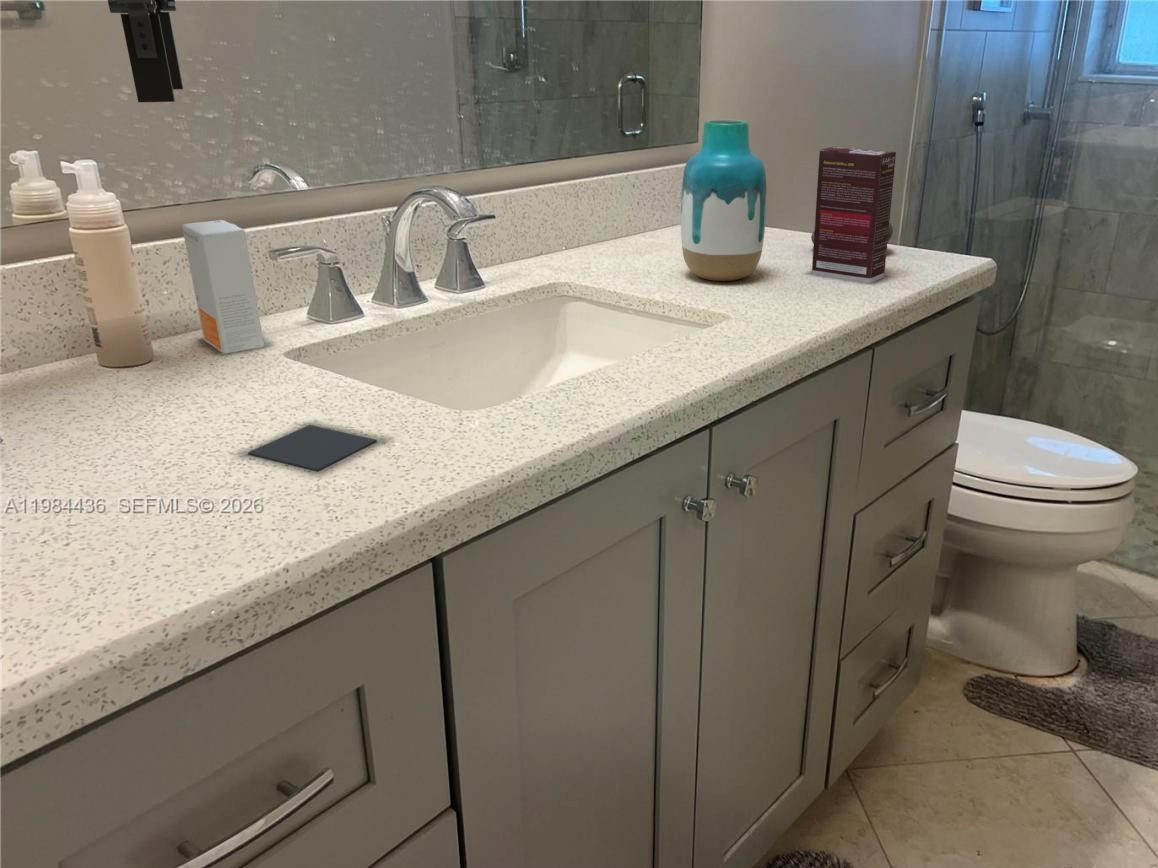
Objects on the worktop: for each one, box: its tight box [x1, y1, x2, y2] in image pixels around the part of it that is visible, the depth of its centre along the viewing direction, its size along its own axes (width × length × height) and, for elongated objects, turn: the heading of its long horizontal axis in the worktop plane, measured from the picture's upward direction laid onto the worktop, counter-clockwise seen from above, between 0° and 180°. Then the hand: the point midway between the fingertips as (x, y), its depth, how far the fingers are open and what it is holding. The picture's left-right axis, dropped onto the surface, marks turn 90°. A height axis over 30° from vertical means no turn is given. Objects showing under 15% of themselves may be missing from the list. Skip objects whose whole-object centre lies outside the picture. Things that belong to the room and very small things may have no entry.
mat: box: [247, 424, 378, 473], centre depth 81 cm, size 7×7×1 cm
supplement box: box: [811, 146, 897, 284], centre depth 132 cm, size 9×5×16 cm, turn 56°
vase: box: [680, 118, 767, 282], centre depth 129 cm, size 11×11×19 cm
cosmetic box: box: [181, 219, 265, 355], centre depth 102 cm, size 6×4×12 cm
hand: (162, 95), depth 91 cm, fingers open, 13 cm apart
